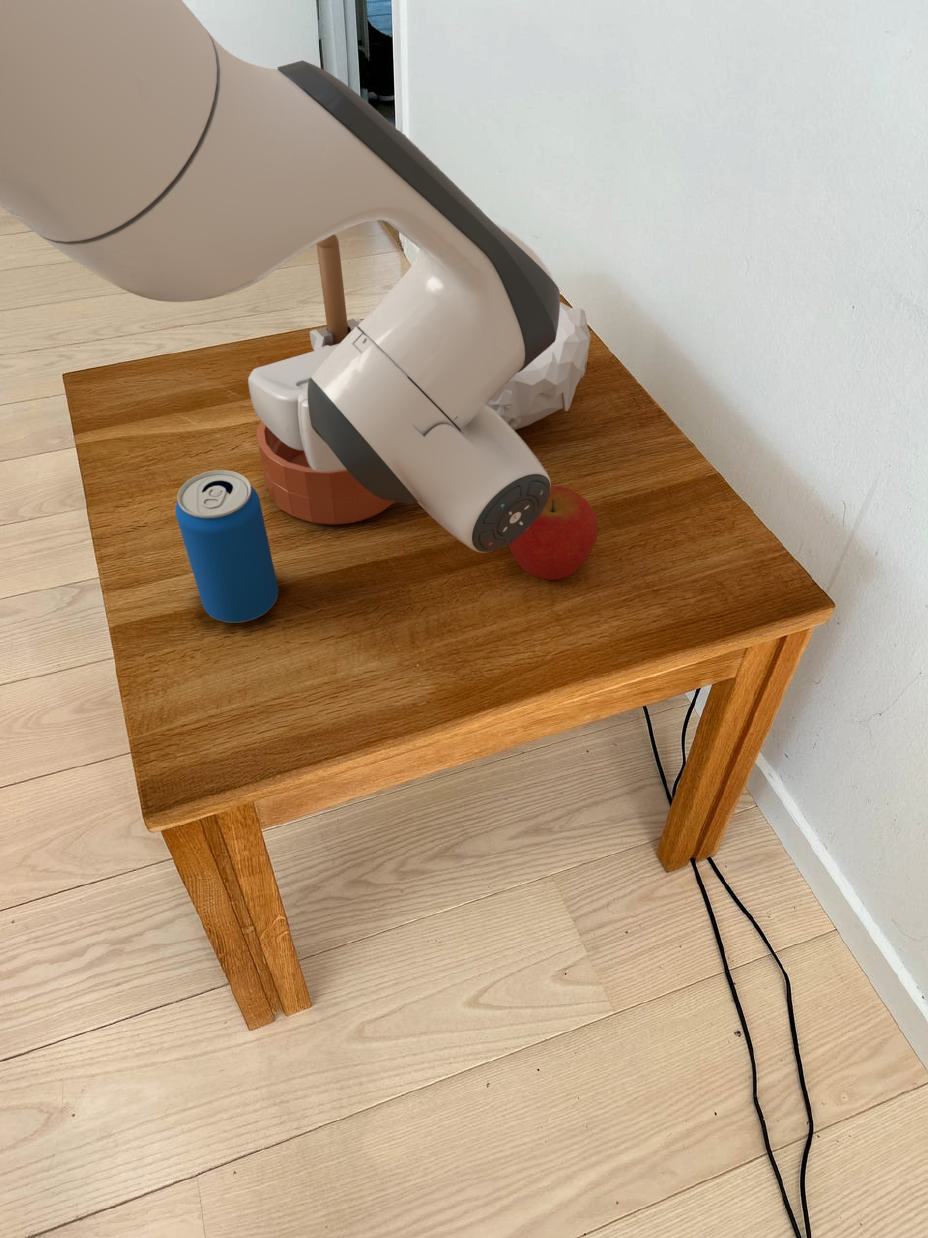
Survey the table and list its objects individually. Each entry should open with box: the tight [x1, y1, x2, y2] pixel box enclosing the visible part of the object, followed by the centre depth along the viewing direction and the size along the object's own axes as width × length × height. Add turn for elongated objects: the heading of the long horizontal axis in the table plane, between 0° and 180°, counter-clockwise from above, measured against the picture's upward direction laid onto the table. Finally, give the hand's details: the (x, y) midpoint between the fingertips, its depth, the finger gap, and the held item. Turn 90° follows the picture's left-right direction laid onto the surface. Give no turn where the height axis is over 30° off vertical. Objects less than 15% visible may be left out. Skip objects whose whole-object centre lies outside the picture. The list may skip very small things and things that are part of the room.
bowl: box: [486, 301, 592, 431], centre depth 97 cm, size 21×20×10 cm
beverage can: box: [175, 469, 279, 624], centre depth 76 cm, size 6×6×12 cm
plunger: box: [316, 234, 349, 345], centre depth 82 cm, size 6×6×20 cm
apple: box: [507, 485, 599, 580], centre depth 80 cm, size 8×8×8 cm
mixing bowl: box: [256, 420, 396, 526], centre depth 89 cm, size 14×14×6 cm
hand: (333, 331), depth 82 cm, fingers closed on plunger
